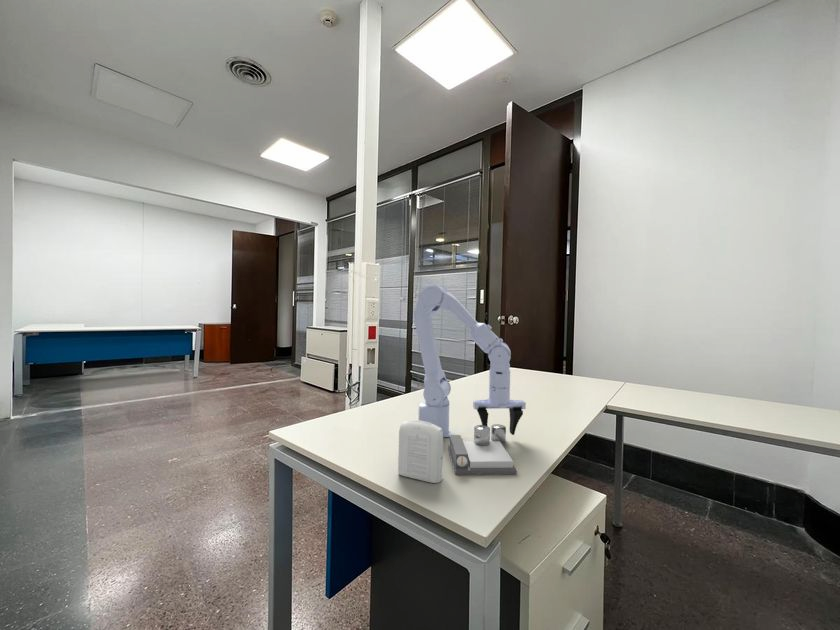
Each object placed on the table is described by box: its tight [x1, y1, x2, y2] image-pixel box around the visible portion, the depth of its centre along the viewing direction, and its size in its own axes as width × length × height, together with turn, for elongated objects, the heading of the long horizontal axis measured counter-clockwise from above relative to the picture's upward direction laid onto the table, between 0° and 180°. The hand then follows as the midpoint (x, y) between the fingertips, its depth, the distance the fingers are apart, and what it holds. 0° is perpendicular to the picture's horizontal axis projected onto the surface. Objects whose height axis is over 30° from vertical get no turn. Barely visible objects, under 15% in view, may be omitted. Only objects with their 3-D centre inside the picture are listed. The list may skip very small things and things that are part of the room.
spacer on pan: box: [473, 424, 491, 446], centre depth 85 cm, size 4×4×4 cm
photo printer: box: [397, 419, 444, 484], centre depth 73 cm, size 10×4×12 cm, turn 69°
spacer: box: [490, 423, 507, 445], centre depth 93 cm, size 4×4×4 cm
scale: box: [447, 434, 518, 476], centre depth 81 cm, size 14×13×4 cm
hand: (498, 433), depth 93 cm, fingers open, 7 cm apart
